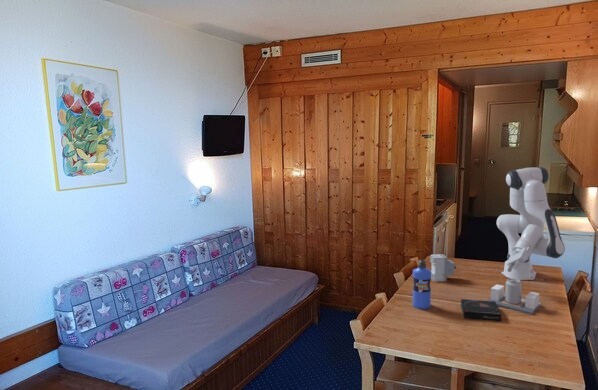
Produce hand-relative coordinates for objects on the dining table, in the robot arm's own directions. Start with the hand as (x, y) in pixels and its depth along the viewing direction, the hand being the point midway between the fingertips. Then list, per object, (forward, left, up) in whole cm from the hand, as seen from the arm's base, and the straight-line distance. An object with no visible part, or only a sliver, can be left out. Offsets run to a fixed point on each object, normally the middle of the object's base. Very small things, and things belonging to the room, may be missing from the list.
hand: (511, 270), depth 226 cm
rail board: (+9, +5, -15) cm, 19 cm away
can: (+10, +4, -14) cm, 18 cm away
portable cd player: (+31, -4, -16) cm, 35 cm away
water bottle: (+42, -30, -16) cm, 54 cm away
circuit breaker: (-4, -41, -16) cm, 44 cm away
